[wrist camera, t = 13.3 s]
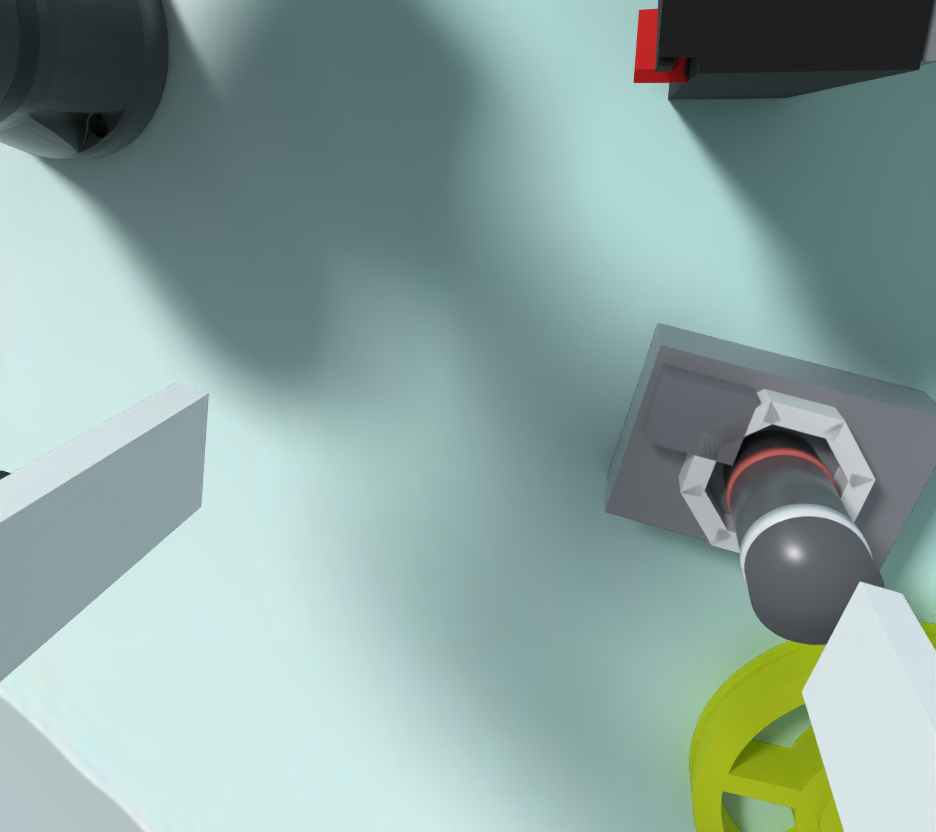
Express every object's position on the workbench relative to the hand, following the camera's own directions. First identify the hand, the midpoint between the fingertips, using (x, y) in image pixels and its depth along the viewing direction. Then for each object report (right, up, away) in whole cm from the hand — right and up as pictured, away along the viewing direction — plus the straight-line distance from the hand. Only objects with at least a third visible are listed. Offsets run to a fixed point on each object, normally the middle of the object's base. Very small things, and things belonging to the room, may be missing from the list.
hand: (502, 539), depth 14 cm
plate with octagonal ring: (+18, +1, +31) cm, 36 cm away
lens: (+17, -1, +27) cm, 32 cm away
